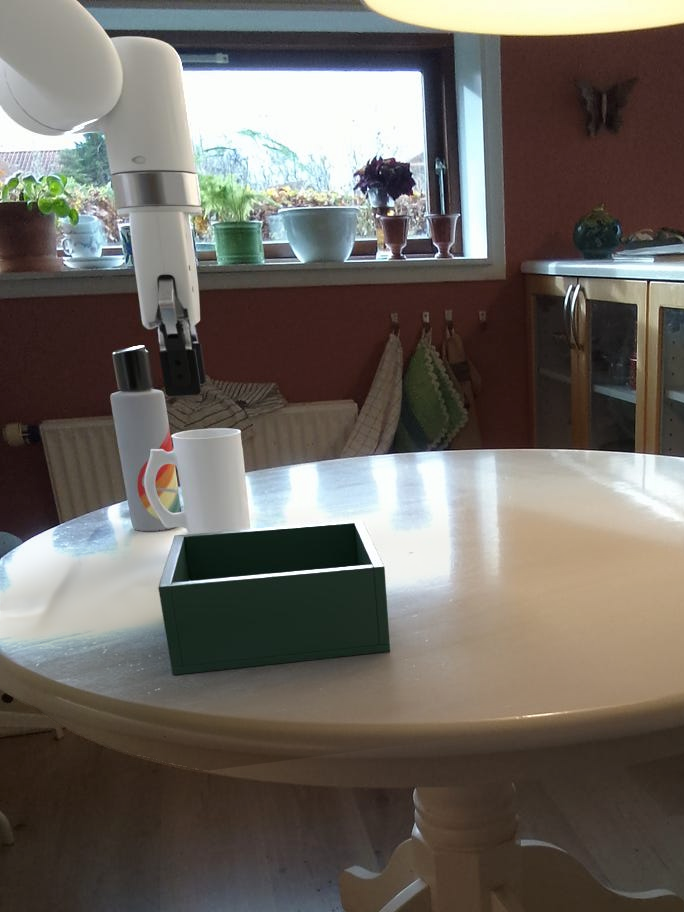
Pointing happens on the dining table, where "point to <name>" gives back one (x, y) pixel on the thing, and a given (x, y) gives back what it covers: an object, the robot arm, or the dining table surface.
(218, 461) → the mug
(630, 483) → the dining table surface
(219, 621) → the bin
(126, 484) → the lotion bottle
